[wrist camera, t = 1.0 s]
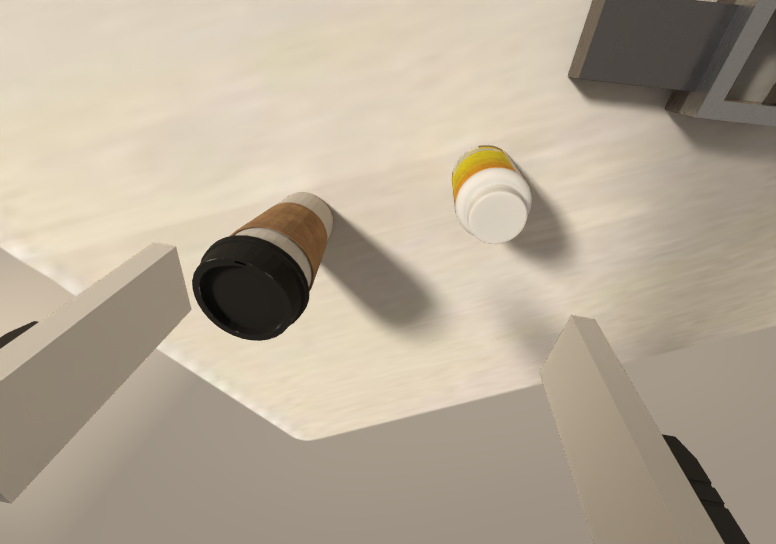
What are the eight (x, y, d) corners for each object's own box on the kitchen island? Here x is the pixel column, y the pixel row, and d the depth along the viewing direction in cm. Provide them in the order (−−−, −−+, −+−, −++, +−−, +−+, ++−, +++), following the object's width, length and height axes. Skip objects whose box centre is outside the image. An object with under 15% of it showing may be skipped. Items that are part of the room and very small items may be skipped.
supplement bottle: (439, 174, 33) (439, 218, 24) (486, 129, 30) (505, 161, 22) (477, 213, 35) (491, 267, 26) (525, 174, 32) (557, 219, 23)
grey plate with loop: (560, 97, 28) (577, 103, 25) (603, -32, 24) (629, -45, 21) (878, 134, 27) (940, 146, 24) (983, 6, 23) (1078, -2, 19)
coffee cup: (352, 192, 35) (304, 273, 22) (338, 261, 40) (292, 359, 27) (270, 169, 35) (176, 238, 22) (266, 241, 39) (186, 331, 27)
